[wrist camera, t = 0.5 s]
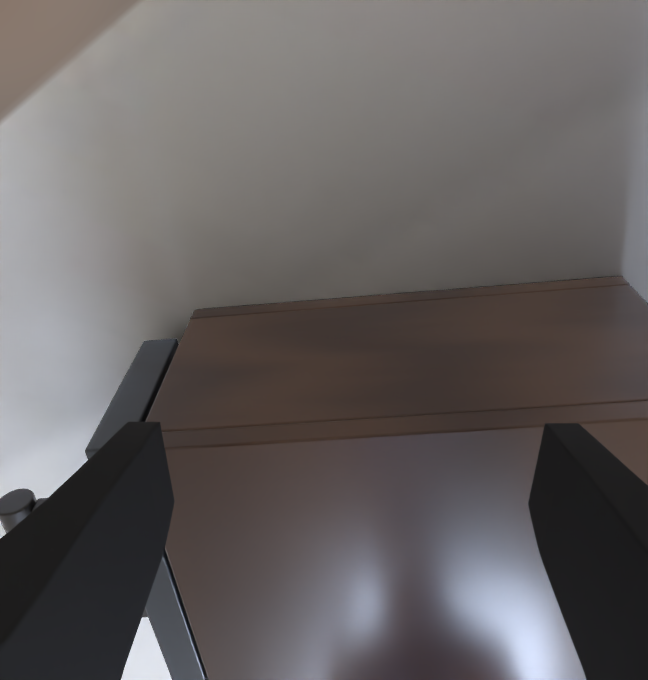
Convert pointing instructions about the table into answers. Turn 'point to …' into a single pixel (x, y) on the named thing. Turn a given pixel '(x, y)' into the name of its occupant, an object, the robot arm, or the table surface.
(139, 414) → the drawer
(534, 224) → the table surface
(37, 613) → the robot arm
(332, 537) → the cabinet
